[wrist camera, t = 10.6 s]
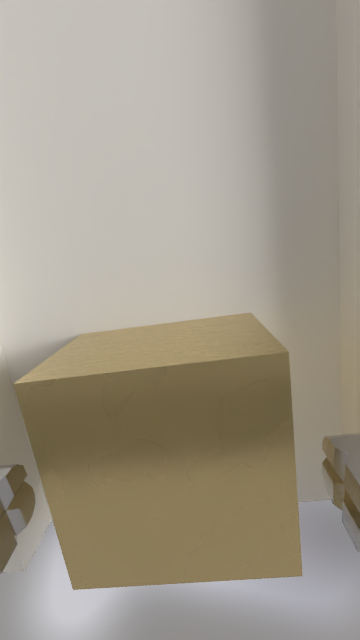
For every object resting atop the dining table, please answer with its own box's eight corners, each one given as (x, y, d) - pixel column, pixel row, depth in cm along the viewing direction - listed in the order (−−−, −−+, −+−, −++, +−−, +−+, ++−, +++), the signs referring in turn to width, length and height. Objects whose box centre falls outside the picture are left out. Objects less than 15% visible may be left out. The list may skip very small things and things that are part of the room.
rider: (81, 333, 10) (13, 384, 6) (250, 312, 10) (289, 352, 6) (113, 476, 12) (73, 590, 8) (263, 462, 11) (302, 576, 7)
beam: (-183, -282, 8) (-458, -673, 5) (350, -445, 7) (500, -1104, 4) (42, 494, 14) (-7, 573, 10) (353, 468, 13) (412, 547, 9)
